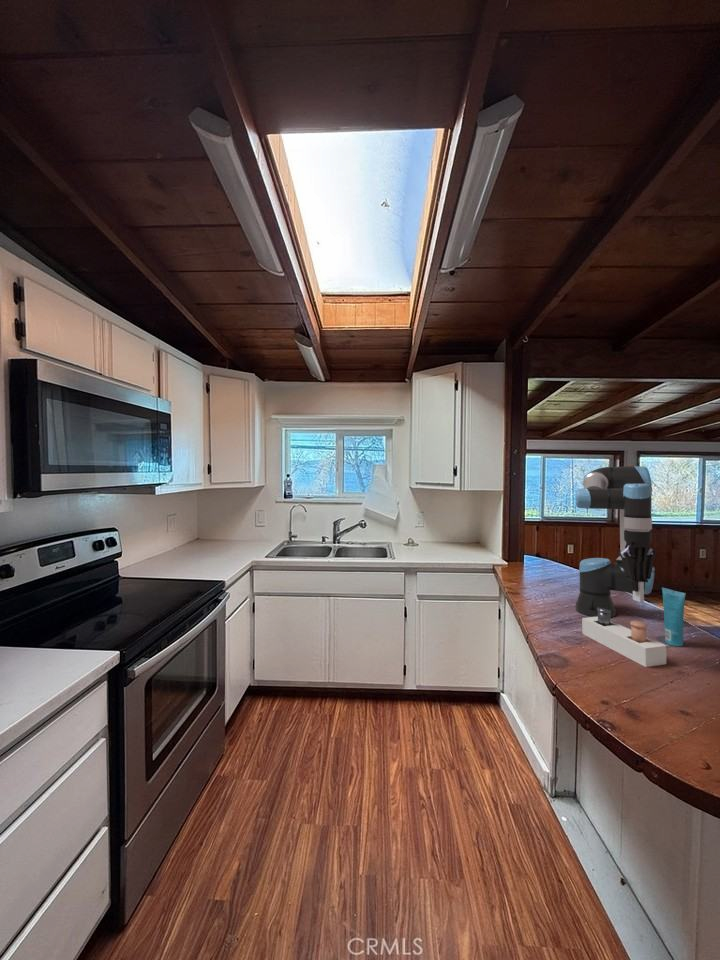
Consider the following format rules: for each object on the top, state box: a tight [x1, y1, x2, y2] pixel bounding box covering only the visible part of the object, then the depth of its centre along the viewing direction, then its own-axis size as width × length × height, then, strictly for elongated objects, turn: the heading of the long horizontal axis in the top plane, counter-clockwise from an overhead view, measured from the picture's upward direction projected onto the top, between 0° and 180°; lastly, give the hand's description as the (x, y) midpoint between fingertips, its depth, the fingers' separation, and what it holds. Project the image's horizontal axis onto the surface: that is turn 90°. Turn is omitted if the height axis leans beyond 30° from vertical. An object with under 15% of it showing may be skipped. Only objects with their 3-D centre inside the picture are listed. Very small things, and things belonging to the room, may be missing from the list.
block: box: [581, 616, 667, 668], centre depth 134 cm, size 8×26×6 cm, turn 11°
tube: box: [661, 587, 687, 647], centre depth 136 cm, size 7×5×19 cm, turn 26°
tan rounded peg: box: [630, 620, 648, 643], centre depth 127 cm, size 4×4×7 cm
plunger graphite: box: [597, 607, 612, 626], centre depth 141 cm, size 4×4×7 cm
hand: (638, 600), depth 127 cm, fingers closed
